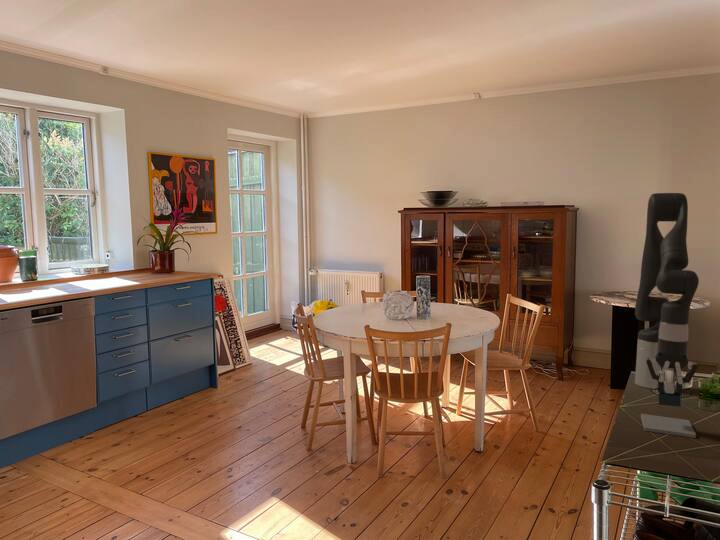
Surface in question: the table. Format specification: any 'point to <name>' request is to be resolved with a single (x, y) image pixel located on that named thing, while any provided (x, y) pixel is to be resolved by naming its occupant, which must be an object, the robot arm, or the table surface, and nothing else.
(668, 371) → the watch
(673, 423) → the mat
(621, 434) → the table surface
